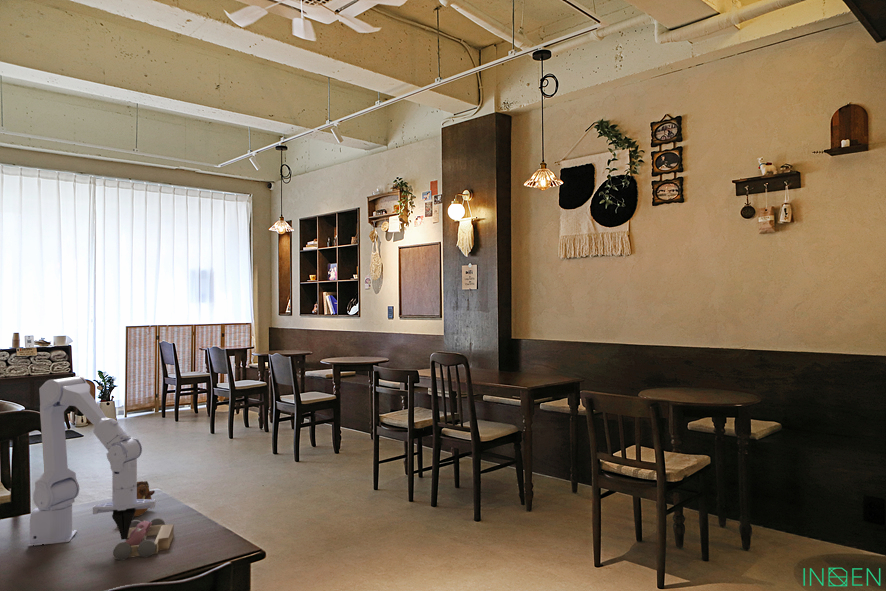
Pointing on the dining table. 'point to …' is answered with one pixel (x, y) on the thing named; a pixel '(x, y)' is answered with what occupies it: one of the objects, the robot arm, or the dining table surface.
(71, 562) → the dining table surface
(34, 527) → the robot arm
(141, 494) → the wooden carving
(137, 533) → the pink toy figure
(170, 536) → the chassis
